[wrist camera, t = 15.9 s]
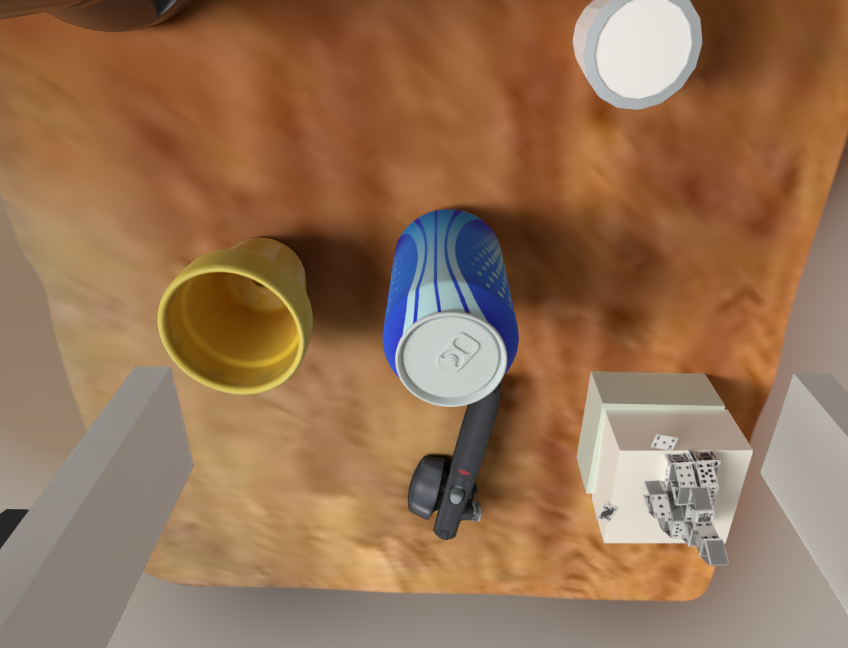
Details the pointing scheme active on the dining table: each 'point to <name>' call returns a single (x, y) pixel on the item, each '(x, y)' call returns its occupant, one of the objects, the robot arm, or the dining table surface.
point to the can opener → (455, 472)
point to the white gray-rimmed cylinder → (637, 49)
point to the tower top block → (663, 467)
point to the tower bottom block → (636, 405)
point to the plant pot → (239, 317)
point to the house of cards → (685, 500)
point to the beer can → (449, 310)
